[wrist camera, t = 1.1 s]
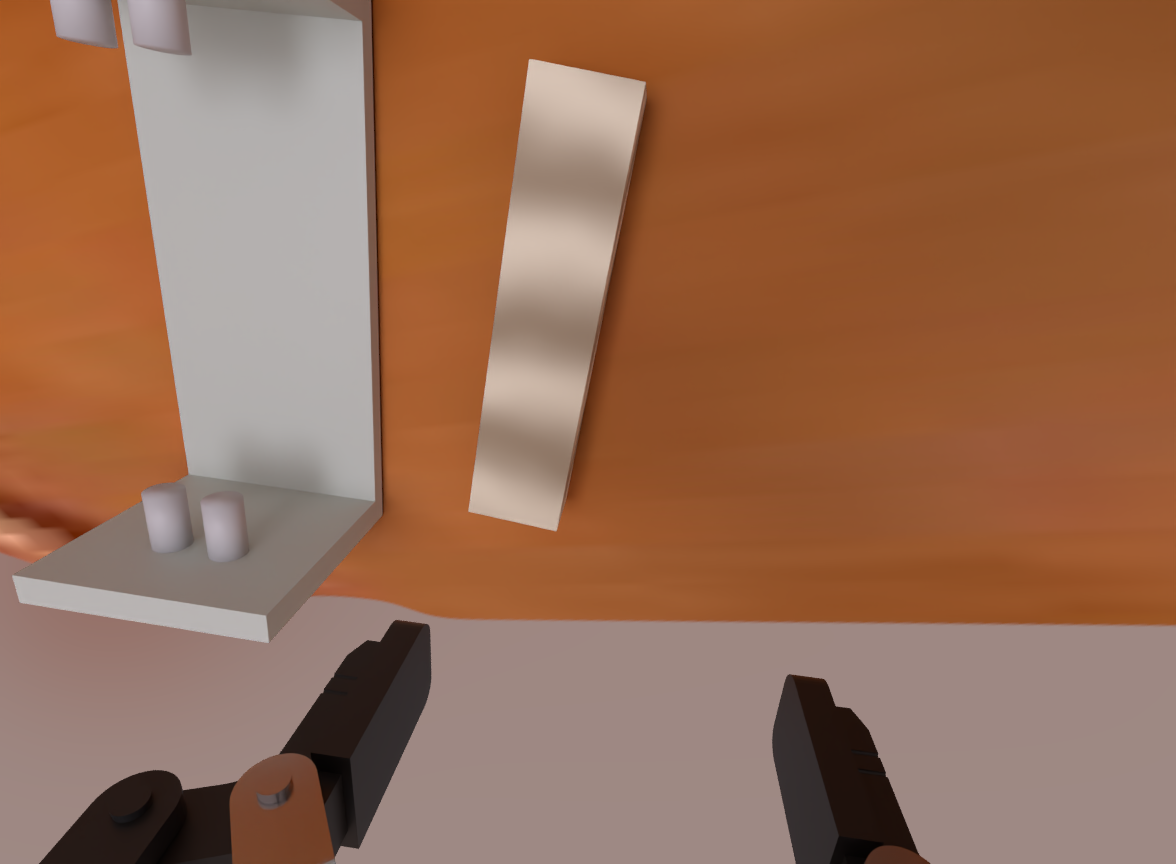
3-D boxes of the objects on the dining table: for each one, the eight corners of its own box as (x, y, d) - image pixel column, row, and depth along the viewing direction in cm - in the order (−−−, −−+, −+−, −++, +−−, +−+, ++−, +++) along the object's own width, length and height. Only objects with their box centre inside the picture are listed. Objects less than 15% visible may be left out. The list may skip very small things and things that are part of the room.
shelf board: (545, 78, 29) (529, 58, 25) (647, 98, 29) (645, 82, 25) (487, 480, 37) (468, 511, 33) (566, 498, 37) (556, 531, 33)
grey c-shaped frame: (128, -33, 29) (-208, -188, 17) (370, -11, 28) (181, -157, 17) (203, 488, 39) (19, 602, 28) (382, 515, 38) (269, 643, 27)
